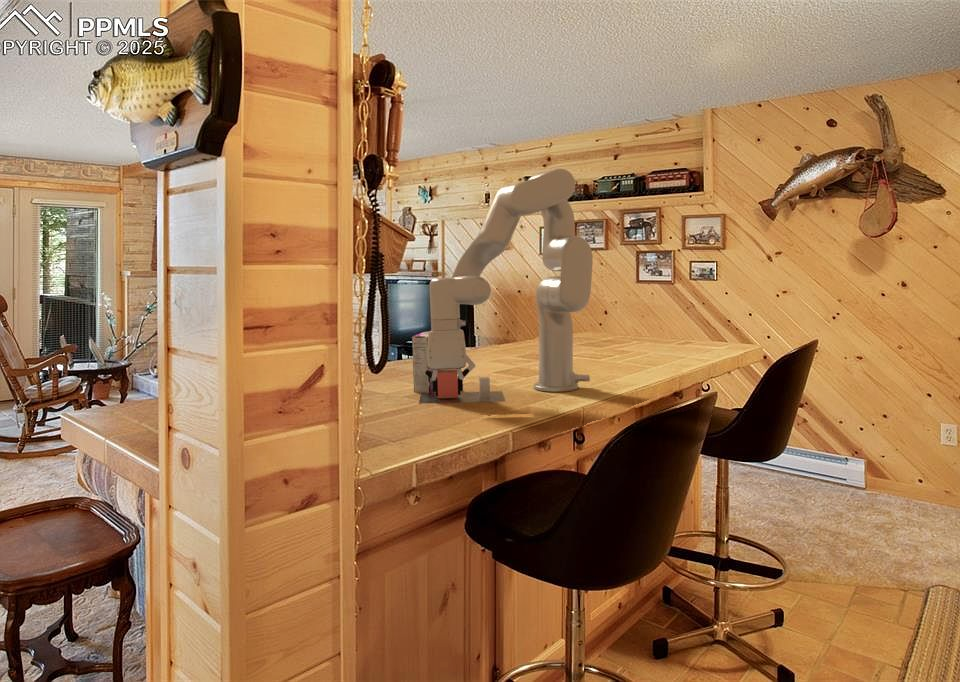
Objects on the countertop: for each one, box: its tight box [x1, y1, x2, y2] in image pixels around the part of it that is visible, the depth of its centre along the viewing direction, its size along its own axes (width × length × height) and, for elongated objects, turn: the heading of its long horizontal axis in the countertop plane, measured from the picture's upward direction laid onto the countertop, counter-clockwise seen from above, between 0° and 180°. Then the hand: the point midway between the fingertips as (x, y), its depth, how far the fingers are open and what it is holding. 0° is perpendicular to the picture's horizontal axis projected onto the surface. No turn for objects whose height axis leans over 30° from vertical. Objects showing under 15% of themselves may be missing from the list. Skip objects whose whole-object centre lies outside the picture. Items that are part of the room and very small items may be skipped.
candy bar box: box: [411, 331, 433, 394], centre depth 183 cm, size 11×5×16 cm, turn 168°
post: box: [418, 376, 506, 405], centre depth 171 cm, size 22×13×6 cm, turn 93°
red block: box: [437, 369, 458, 398], centre depth 171 cm, size 5×5×7 cm
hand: (448, 393), depth 171 cm, fingers closed on red block, 5 cm apart
